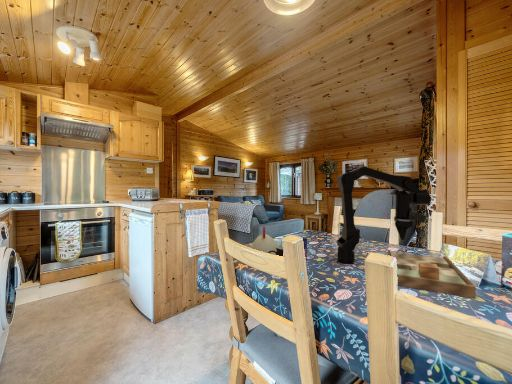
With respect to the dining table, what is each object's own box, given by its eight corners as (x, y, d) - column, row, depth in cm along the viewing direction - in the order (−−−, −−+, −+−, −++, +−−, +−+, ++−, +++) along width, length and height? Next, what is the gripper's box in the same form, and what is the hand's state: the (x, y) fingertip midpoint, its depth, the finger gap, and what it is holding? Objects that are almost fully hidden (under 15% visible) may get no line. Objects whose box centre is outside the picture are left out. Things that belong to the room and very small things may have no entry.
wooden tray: (390, 284, 80) (390, 274, 80) (387, 257, 111) (387, 250, 111) (475, 298, 70) (475, 286, 69) (446, 264, 100) (446, 256, 100)
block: (420, 277, 79) (420, 266, 79) (418, 273, 83) (418, 262, 83) (439, 280, 77) (439, 268, 77) (435, 275, 81) (435, 264, 81)
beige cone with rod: (277, 255, 115) (277, 225, 115) (280, 264, 101) (280, 230, 101) (249, 255, 115) (249, 225, 115) (248, 264, 102) (248, 230, 101)
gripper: (428, 207, 91) (428, 246, 91) (422, 204, 107) (422, 237, 107) (395, 206, 96) (395, 243, 97) (394, 203, 113) (394, 235, 113)
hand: (402, 239), depth 103 cm, fingers closed
